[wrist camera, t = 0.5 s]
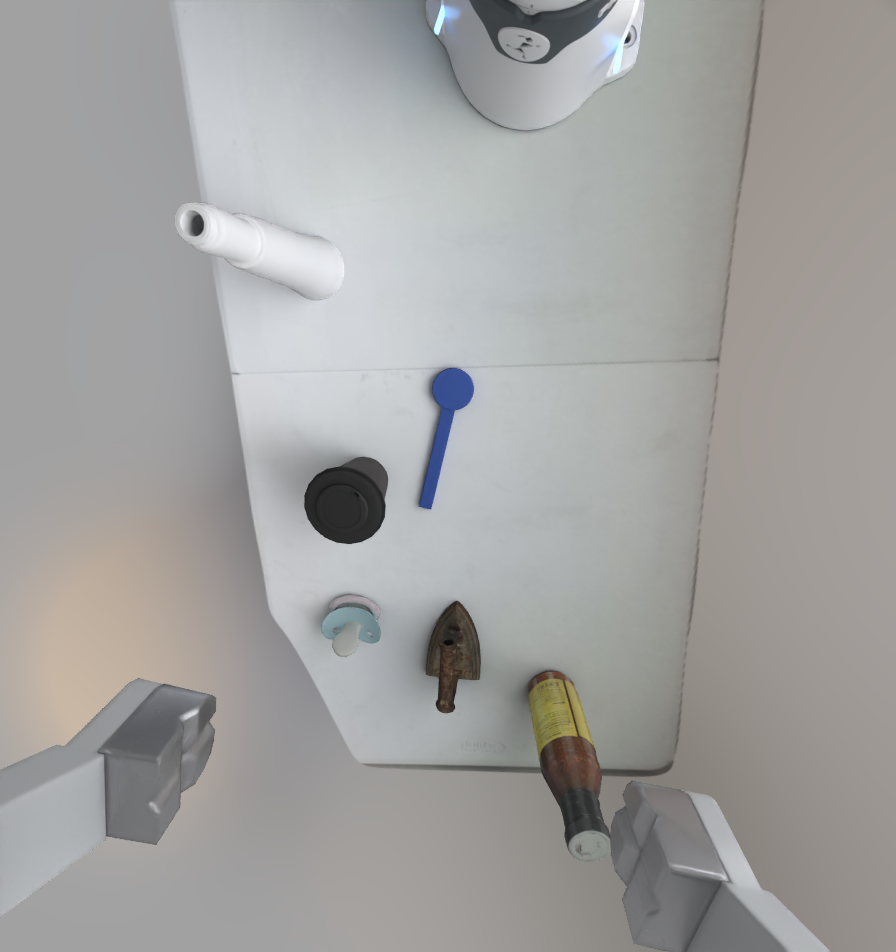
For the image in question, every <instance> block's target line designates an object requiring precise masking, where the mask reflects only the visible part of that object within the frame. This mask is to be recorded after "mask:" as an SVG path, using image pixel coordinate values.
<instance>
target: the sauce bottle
mask: <svg viewBox="0 0 896 952" xmlns="http://www.w3.org/2000/svg"><path fill="white" fill-rule="evenodd" d="M528 690H529V706H530V712H531V718H532V723H533V728H534V734H535V740H536V745H537V750H538V756H539V761H540V766H541V771H542V774H543V777H544V779H545V780H546V782H547V784H548V786H549V788H550V790H551V792H552V793H553V795H554V797H555V799H556V801H557V803H558V804H559V806H560V808H561V811H562V815H563V819H564V825H565V840H566V843H567V847H568V850H569V852H570V853H571V855H573V857H574V858H576V859H578V860H580V861H584V862H592V861H597V860H600V859H602V858H604V857H606V856H607V855H608V854H609V853H610V851H611V847H610V834H609V830H608V828H607V826H606V825H605V823H604V821H603V817H602V813H601V810H600V802H599V800H598V797H599V794H600V787H601V780H602V774H601V770H600V766H599V763H598V760H597V757H596V751H595V747H594V744H593V741H592V738H591V734H590V731H589V728H588V725H587V722H586V719H585V716H584V712H583V709H582V706H581V703H580V700H579V697H578V693H577V691H576V689H575V687H574V684H573V682H572V681H571V680H570V679H569V678H568V677H567V676H565V675H564V674H562V673H560V672H556V671H555V672H554V671H550V672H543V673H541V674H539V675H537V676H536V677H535V678H534V679H533V680H532V681H531V683H530V685H529V689H528Z"/></svg>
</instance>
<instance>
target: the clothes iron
mask: <svg viewBox="0 0 896 952" xmlns="http://www.w3.org/2000/svg"><path fill="white" fill-rule="evenodd" d="M480 662H481V661H480V645H479V640H478V635H477V632H476V629H475V626H474V623H473V621H472V619H471V617H470V615H469V613H468V612H467V610H466V609H465V608H464V606H463V605H462V604H461V603H460V602H459V601H456V602H454V603H453V604H451V605H450V606H449V607H448V608H447V609H446V610H445V612H444V613H443V614H442V616H441V617H440V619H439V621H438V622H437V624H436V627H435V629H434V631H433V634H432V637H431V640H430V644H429V649H428V655H427V663H426V675H428V676H434V677H439V688H438V700H437V701H436V706H437V709H438V710H439V711H440V712H442V713H450V712H453V711H454V709H455V705H454V698H455V694H456V688H457V682H458V679H468V680H479V678H480Z"/></svg>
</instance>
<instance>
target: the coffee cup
mask: <svg viewBox="0 0 896 952" xmlns="http://www.w3.org/2000/svg"><path fill="white" fill-rule="evenodd" d="M387 486H388V476H387V473H386V471H385V469H384V467H383V466H382V465H381V464H380V463H379V462H378V461H376V460H374V459H371V458H367V457H361V458H356V459H354V460H352V461H350V462H348V463H346V464H345V465H343V466H341V467H334V468H329V469H326V470H324V471H323V472H321V473H319V474H317V475H316V476H315V477H314V479H313V480H312V481H311V482H310V483H309V485H308V488H307V490H306V493H305V503H304V508H305V511H306V514H307V517H308V520H309V521H310V523H311V524H312V526H313V527H314V528H315V530H317V531H318V532H319V533H320V534H321V535H323V536H324V537H325V538H327V539H329V540H332V541H334V542H337V543H345V544H353V543H358V542H362V541H364V540H366V539H368V538H370V537H372V536H373V535H374V534H375V533H376V532H377V531H378V529H379V528H380V527H381V524H382V522H383V520H384V518H385V501H384V499H385V495H386V490H387Z"/></svg>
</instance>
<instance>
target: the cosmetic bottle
mask: <svg viewBox="0 0 896 952" xmlns="http://www.w3.org/2000/svg"><path fill="white" fill-rule="evenodd" d="M175 226H176V230H177V232H178V234H179V235H180V236H181V238H183V240H185V241H186V242H188V243H190V244H191V245H192V246H193V247H194V248H195V249H197V250H199V251H201V252H204V253H208V254H211V255H215V256H219V257H222V258H224V259H225V260H226V261H227V262H228V263H229V264H231V265H232V266H234V267H236V268H239V269H241V270H244V271H246V272H249V273H252V274H254V275H257V276H260V277H263V278H266V279H269V280H271V281H274V282H277V283H280V284H283V285H285V286H288V287H290V288H292V289H294V290H295V291H297V292H298V293H299V294H300V295H302V296H304V297H306V298H308V299H312V300H323V299H327V298H329V297H331V296H332V295H333V294H335V293H336V292H337V291H338V289H339V288H340V286H341V284H342V282H343V278H344V262H343V259H342V256H341V254H340V252H339V251H338V249H337V248H336V247H335V246H334V245H333V244H332V243H331V242H330V241H328V240H327V239H325V238H322V237H319V236H306V235H302V234H298V233H295V232H292V231H290V230H287V229H285V228H282V227H279V226H277V225H274V224H272V223H269V222H267V221H264V220H261V219H259V218H256V217H253V216H250V215H247V214H243V213H234V214H230V213H228V212H226V211H224V210H221V209H219V208H217V207H215V206H213V205H211V204H208V203H202V202H200V203H191V202H188V203H185V204H183V205H181V206H180V207H179V208H178V210H177V211H176V214H175Z"/></svg>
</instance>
